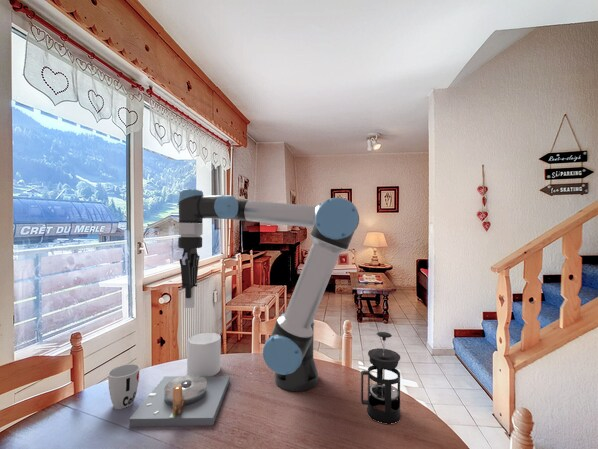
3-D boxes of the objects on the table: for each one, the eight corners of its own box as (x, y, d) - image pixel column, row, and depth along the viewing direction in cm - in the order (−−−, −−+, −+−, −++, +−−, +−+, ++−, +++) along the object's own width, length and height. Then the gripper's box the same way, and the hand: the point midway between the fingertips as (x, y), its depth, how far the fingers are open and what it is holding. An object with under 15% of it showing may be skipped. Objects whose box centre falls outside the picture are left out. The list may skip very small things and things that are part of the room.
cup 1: (124, 414, 82) (125, 378, 82) (100, 410, 84) (100, 375, 84) (145, 397, 90) (145, 365, 90) (122, 394, 92) (123, 362, 92)
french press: (397, 404, 88) (397, 328, 88) (408, 425, 79) (408, 339, 79) (358, 403, 88) (358, 327, 89) (364, 424, 79) (365, 339, 79)
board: (229, 381, 100) (229, 375, 100) (213, 425, 78) (213, 417, 78) (164, 382, 99) (164, 375, 99) (129, 426, 77) (129, 418, 77)
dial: (171, 383, 94) (171, 363, 94) (209, 381, 95) (210, 361, 95) (152, 415, 78) (152, 391, 78) (199, 412, 79) (199, 388, 79)
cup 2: (207, 360, 116) (207, 330, 116) (227, 369, 109) (227, 337, 109) (180, 372, 106) (180, 339, 106) (199, 382, 99) (200, 347, 99)
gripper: (186, 235, 103) (185, 302, 103) (171, 236, 90) (170, 312, 90) (207, 235, 104) (206, 302, 103) (195, 236, 91) (194, 312, 90)
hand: (189, 307), depth 97 cm, fingers closed
